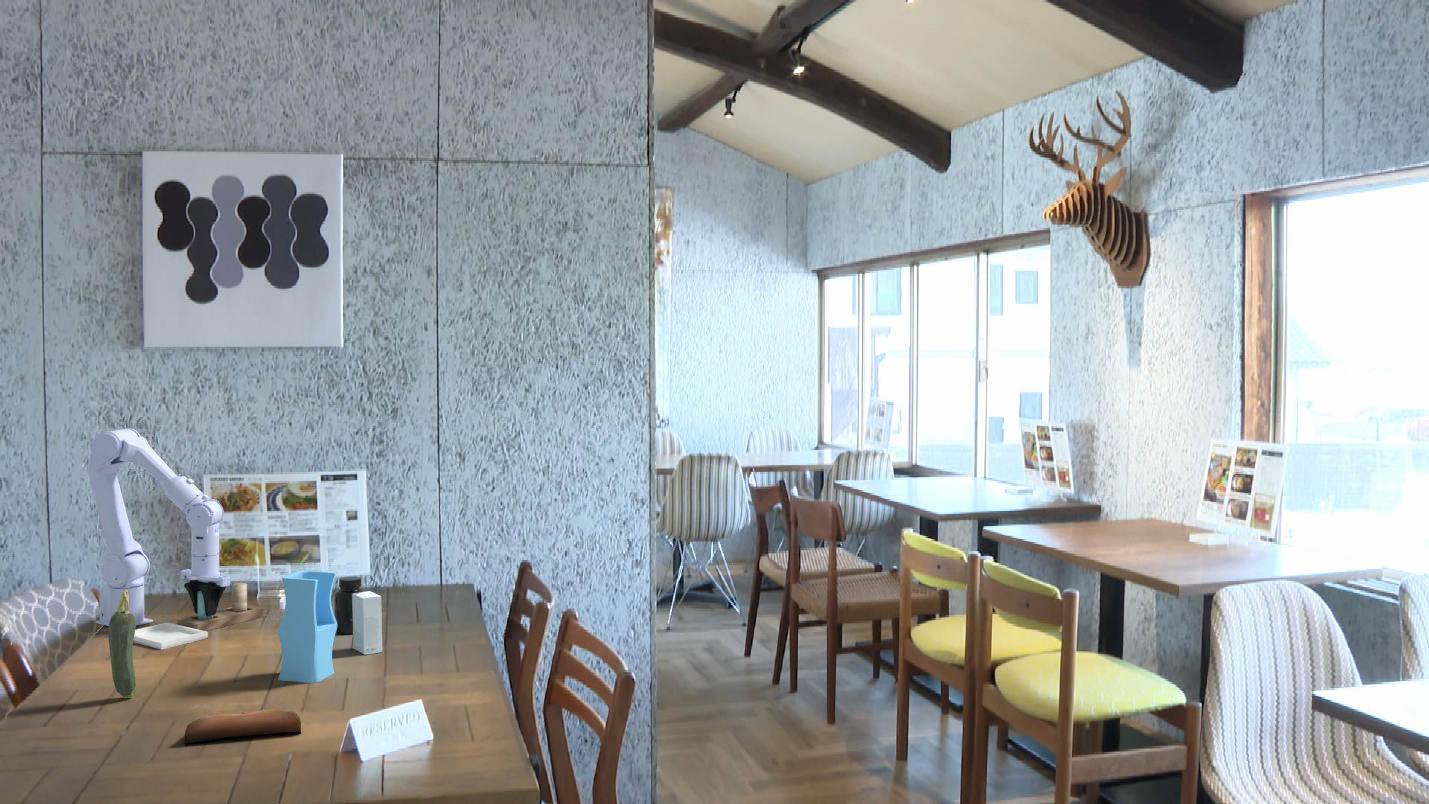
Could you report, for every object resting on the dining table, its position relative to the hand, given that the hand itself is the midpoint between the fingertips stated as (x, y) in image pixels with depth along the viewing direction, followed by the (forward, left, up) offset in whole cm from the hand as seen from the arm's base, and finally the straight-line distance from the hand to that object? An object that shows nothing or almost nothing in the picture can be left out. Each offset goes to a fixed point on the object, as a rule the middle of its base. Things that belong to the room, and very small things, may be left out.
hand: (205, 614), depth 257 cm
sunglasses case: (+64, -40, -3) cm, 75 cm away
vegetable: (+32, -41, -3) cm, 52 cm away
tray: (+2, -12, -3) cm, 12 cm away
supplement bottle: (+29, +15, -3) cm, 33 cm away
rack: (0, +4, -3) cm, 5 cm away
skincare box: (+44, +6, -3) cm, 45 cm away
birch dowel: (0, +9, -3) cm, 9 cm away
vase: (+48, -13, -3) cm, 50 cm away
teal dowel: (0, 0, -3) cm, 3 cm away
